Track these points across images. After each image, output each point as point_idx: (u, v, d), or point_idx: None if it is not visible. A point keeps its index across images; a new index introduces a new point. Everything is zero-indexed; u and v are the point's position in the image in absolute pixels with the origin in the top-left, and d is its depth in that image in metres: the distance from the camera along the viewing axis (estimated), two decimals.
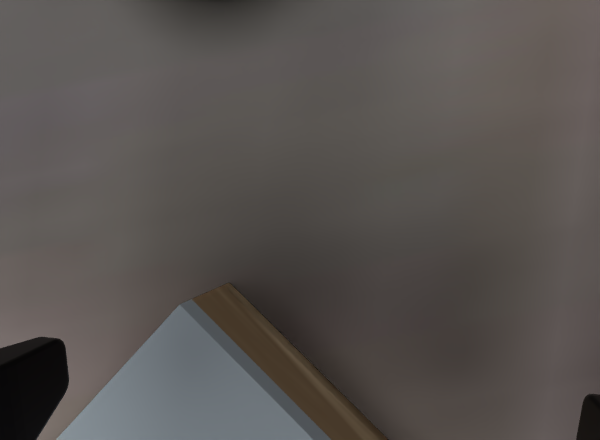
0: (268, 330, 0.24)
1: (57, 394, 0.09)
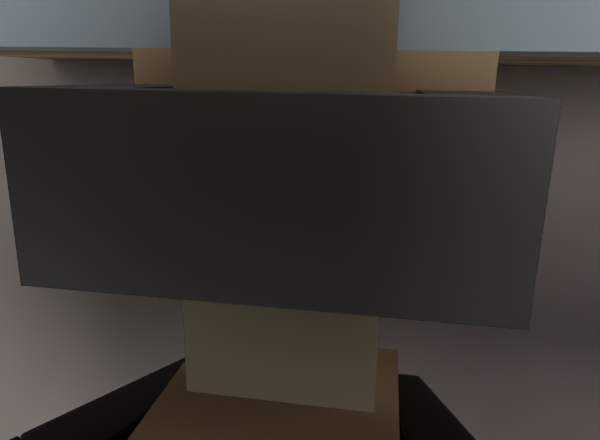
0: None
1: None
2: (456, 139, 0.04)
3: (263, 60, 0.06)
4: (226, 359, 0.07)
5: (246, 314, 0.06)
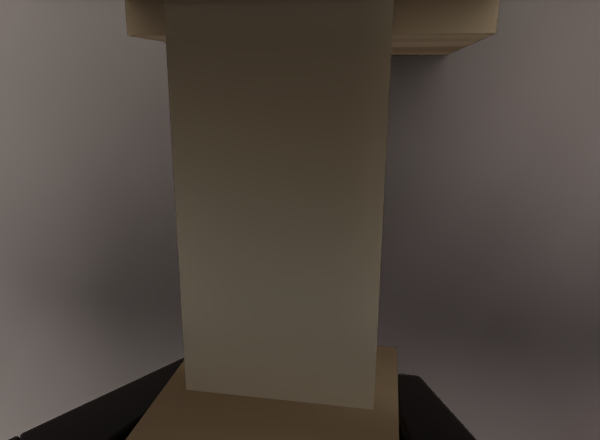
0: None
1: None
2: None
3: (258, 58, 0.06)
4: (224, 357, 0.07)
5: (244, 312, 0.06)
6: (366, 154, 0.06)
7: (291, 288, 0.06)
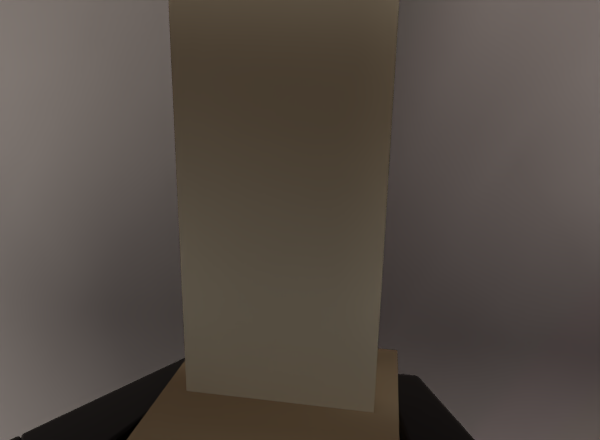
0: None
1: None
2: None
3: (263, 60, 0.06)
4: (225, 359, 0.07)
5: (246, 314, 0.06)
6: (369, 158, 0.06)
7: (293, 291, 0.06)
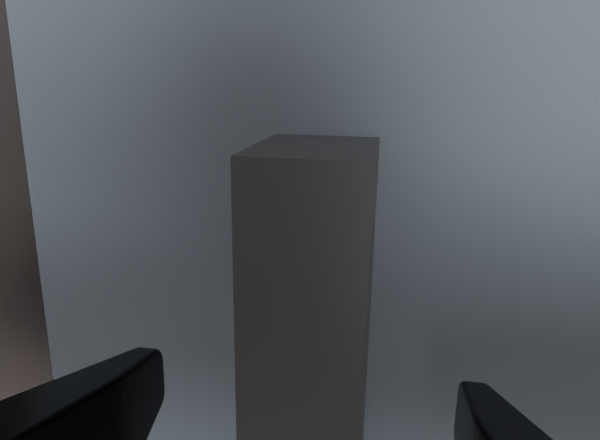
0: None
1: (156, 406, 0.09)
2: None
3: None
4: None
5: None
6: None
7: None
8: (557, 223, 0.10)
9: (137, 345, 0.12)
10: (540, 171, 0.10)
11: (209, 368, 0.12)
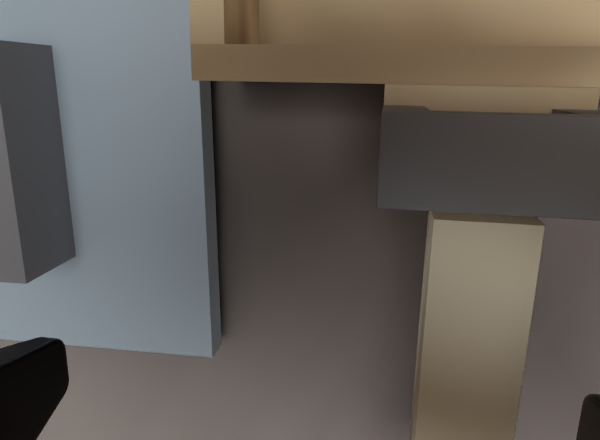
0: None
1: (57, 394, 0.09)
2: None
3: (460, 403, 0.13)
4: None
5: None
6: None
7: None
8: (142, 88, 0.19)
9: None
10: (128, 60, 0.19)
11: None
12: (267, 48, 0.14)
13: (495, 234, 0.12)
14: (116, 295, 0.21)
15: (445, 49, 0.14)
